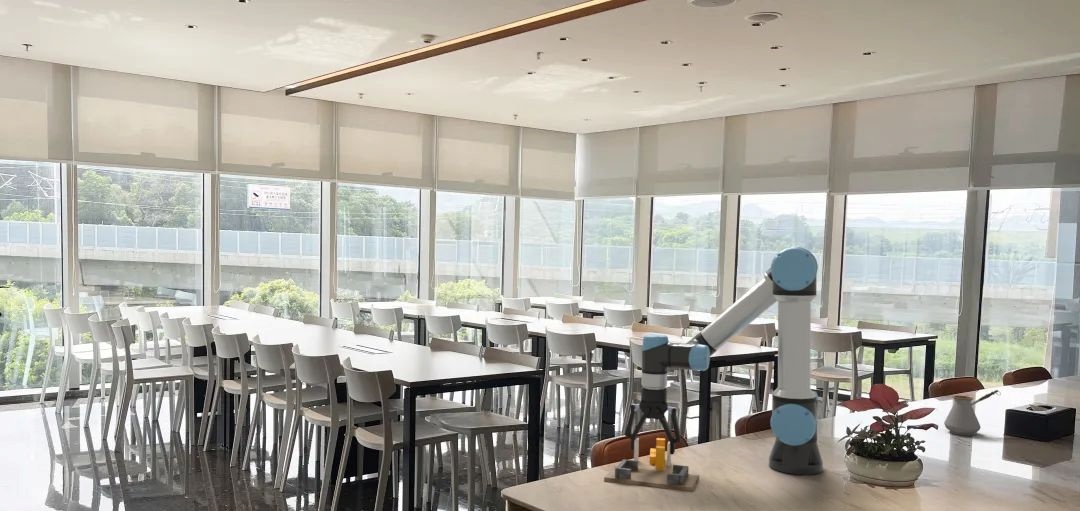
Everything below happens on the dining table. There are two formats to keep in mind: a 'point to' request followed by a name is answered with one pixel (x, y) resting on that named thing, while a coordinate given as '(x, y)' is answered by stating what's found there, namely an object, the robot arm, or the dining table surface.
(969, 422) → the coffee pot
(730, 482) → the dining table surface
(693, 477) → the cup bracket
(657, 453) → the pipe clamp
